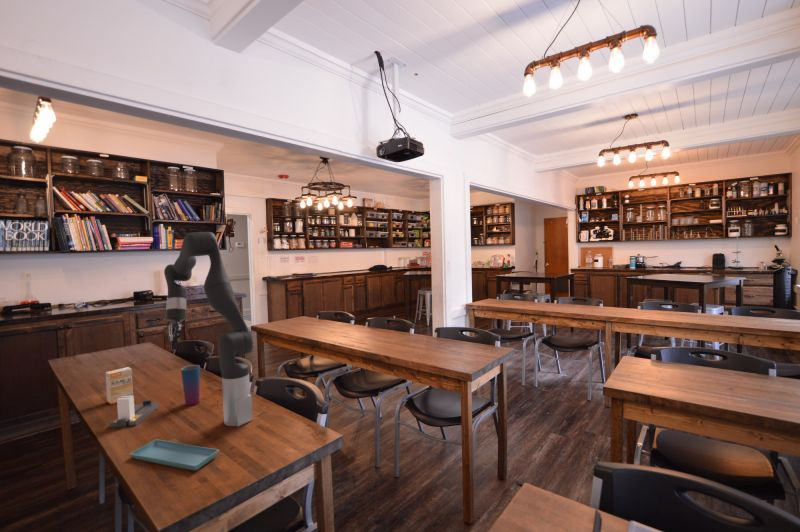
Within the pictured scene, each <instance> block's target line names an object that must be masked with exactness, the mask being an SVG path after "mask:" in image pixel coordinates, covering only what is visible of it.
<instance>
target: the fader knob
mask: <svg viewBox="0 0 800 532" xmlns="http://www.w3.org/2000/svg"><path fill="white" fill-rule="evenodd" d="M134 399H135V398H134V395H133V396H122V397H120V398H119V399H117V403H116V405H117V407H116V408H117V417H118V419H127V420H131V419H132V418H134V417H135V410H134V405H135V400H134Z"/></svg>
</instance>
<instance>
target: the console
mask: <svg viewBox="0 0 800 532" xmlns="http://www.w3.org/2000/svg"><path fill="white" fill-rule="evenodd" d="M152 400H153V399H143V400H142V403H141V404H140V403H139V404H134V410H135V417H134V418H132V419H131V420H127V419H118V416H117V417H116V418H115V419H113V420H112V421H110V422H109V428H110V427H111V428H116V429H122V427H124V428H127V427H132V426H133V425H136V426H138V425H139V424H140V423H141V422H142V420H143V421H144V420H145V419H147V418H148V416H150V415H151V414H152V413H153V412H155V411H156V410H157V409H159V407H160V404H159V402H155V403H153V401H152ZM155 409H156V410H155ZM154 410H155V411H154ZM133 427H134V426H133Z"/></svg>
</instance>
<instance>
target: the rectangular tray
mask: <svg viewBox="0 0 800 532" xmlns="http://www.w3.org/2000/svg"><path fill="white" fill-rule="evenodd" d="M219 451H220V449H218V448H217V449H216V448H211V447H210V448H209V447H207V446H206V447H204V446H199V445H192V444H186V443H181V442H175V441H174V442H173V441H171V440H170V441H169V440H163V439H157V438H156V439H154V440H152V441H150V442H149V443H146V444H145V445H142V446H141V447H139V448H137V449H135V450H134V451H132V452H130V453H129V455H130V456H131V457H132V458H133V459H134V458H135V460H138V461H139V460H141V461H144V462H149V463H154V464H159V465H165V466H168V467H174V468H179V469H184V470H189V471H194V472H196V471H198V470H199V469H200V468H202V467H203V466H205V465H206V464H208V463H209V462H211V461H212V460H213V459H215V458H216V456H217V455H218V454H219Z"/></svg>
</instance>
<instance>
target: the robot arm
mask: <svg viewBox="0 0 800 532" xmlns="http://www.w3.org/2000/svg"><path fill="white" fill-rule="evenodd" d="M182 240H183V241H182V243H181V247H180V251H179V254H178V257H177V259H176V260H175V262H173V263H174V264H168V265H166V267H165V268H164V269H163V271H164V272H163V273H164V278H165V282H166V284H167V285H166V287H167V299H166V305H165V321H167V322H170V323H169V325H168V329H167V330H166V333H167V337H168V338H167V339H168V341H170V349H169V350H170V351H177V350H178V344H179V340H180V339H181V336H182V333H183V330H184V325H183V324H182V322H183V321H186V319H187V287H186V286H185V285H182V284H179V283H177V282H187V281H189V280H190V279H191V278H192V274H193V273H192V272H193V271H192V270H193V269H194V267H195V266H196V264H197V258H196V257H202V256H208V258H209V261H210V266H209V270H208V273H207V275H206V278H205V280H204V284H203V290H204V293H205V296H206V299H207V302H208V304H209V305H210V307H211V308H213V310H215V312H217V313H218V314H219V315H220V316H222V317H223V318H224V319H225V320H226V321H227V323H228V324H229V325H230V327H231V330H232V331H228V332H224V333H222V334H220V335H219V336H218V340H217V353H218V362H219V369H220V370H219V371H220V373H221V388H222V389H221V390H222V407H223V423H224V425H225V426H227V427H240V426H242V425H245V424H247V423H249V422H251V421H253V420H254V419H253V416H254V415H253V398H252V395H251V388H250V387H251V386H250V385H251V383H250V382H251V381H250V368H249V365H248V364H246V363H239V362H237V361H236V357H240V356H244V355H247V354H249V353H251V352H252V350H253V347H254V341H253V338H252V337H253V336H252V335H251V332H250V330H249V327H248V326H247V323H246V322H245V319H244V317H243V314H242V312H241V311H240V308H239V305H238V302H237V299H236V297H235V293H234V290H233V287H232V284H231V281H230V279H229V276H228V274H227V271H226V268H225V265H224V262H223V258H222V255H221V249H220V247H219V243H218V239H217V238H216V235H215V234H214V232H211V231H197V232H189V233H186V235H185V236H184V237H183V239H182ZM176 281H177V282H176Z"/></svg>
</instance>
